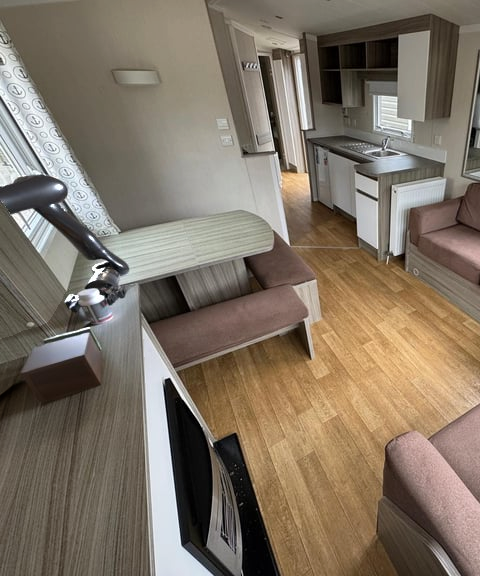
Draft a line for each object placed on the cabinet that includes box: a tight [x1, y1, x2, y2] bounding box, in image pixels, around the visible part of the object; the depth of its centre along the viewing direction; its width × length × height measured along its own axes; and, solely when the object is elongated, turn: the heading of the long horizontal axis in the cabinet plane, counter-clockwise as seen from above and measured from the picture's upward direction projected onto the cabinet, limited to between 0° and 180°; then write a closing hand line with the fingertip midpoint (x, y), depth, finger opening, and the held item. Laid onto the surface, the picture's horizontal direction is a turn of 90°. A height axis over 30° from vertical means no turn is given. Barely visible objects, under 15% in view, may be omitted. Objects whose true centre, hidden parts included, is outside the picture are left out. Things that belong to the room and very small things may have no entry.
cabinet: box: [20, 333, 105, 405], centre depth 69 cm, size 11×10×9 cm
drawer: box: [42, 326, 103, 352], centre depth 73 cm, size 11×8×7 cm
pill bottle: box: [76, 288, 114, 325], centre depth 92 cm, size 6×6×10 cm
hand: (92, 306), depth 90 cm, fingers open, 7 cm apart
